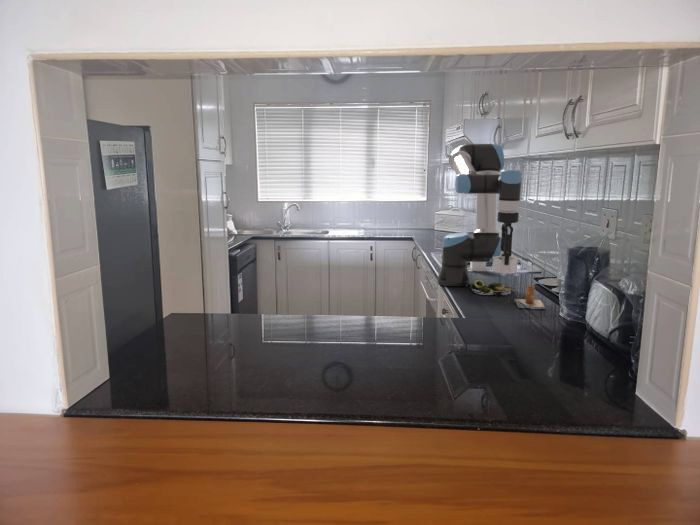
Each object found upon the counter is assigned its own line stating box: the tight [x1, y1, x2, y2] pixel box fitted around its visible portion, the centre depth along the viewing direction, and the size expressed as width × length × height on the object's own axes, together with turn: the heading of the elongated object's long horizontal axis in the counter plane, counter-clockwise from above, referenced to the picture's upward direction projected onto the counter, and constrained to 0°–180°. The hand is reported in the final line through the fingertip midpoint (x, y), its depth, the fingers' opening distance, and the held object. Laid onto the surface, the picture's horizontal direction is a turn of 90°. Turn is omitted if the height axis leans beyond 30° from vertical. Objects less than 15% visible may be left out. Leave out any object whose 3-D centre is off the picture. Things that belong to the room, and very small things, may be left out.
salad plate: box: [469, 278, 516, 295], centre depth 222 cm, size 19×18×5 cm
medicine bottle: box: [469, 262, 487, 272], centre depth 264 cm, size 7×7×12 cm
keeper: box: [514, 284, 546, 309], centre depth 200 cm, size 10×10×8 cm
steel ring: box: [491, 256, 519, 275], centre depth 194 cm, size 9×9×5 cm
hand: (504, 270), depth 194 cm, fingers closed on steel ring, 9 cm apart
